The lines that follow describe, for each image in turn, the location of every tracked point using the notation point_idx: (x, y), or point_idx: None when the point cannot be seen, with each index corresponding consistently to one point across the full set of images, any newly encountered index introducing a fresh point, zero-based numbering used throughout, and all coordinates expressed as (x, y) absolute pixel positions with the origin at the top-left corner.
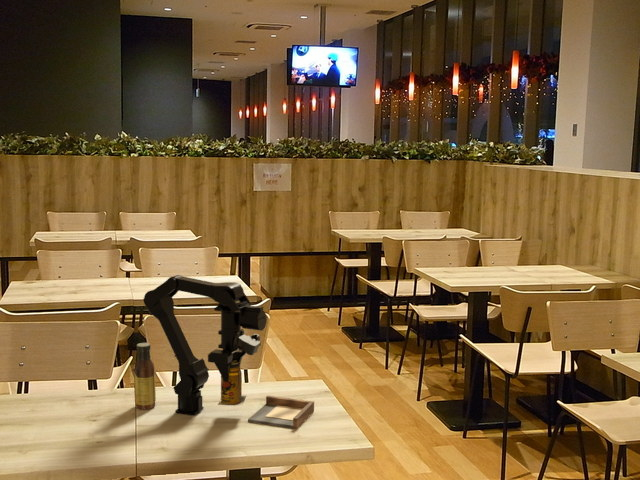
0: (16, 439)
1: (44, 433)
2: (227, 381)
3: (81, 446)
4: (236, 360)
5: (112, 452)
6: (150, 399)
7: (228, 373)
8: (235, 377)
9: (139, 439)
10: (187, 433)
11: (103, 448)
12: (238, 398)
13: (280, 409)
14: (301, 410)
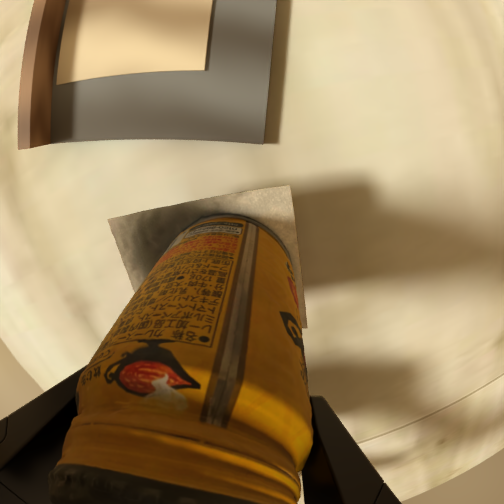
0: (410, 494)
1: (392, 491)
2: (324, 398)
3: (454, 446)
4: (28, 484)
5: (492, 403)
6: None
7: (359, 468)
8: (281, 376)
9: (444, 404)
10: (420, 332)
11: (472, 422)
12: (257, 234)
13: (98, 45)
14: None
